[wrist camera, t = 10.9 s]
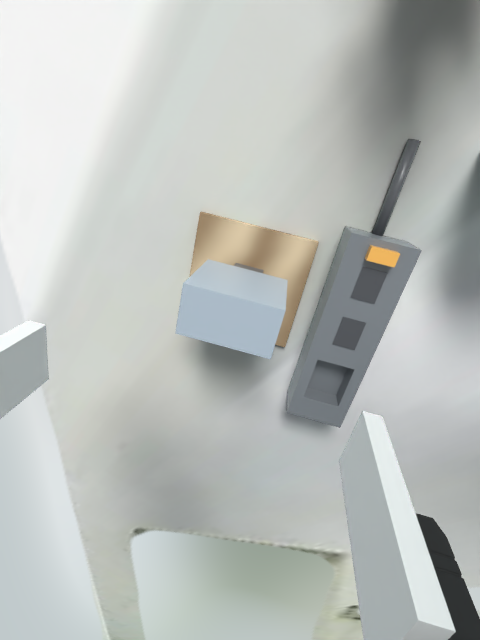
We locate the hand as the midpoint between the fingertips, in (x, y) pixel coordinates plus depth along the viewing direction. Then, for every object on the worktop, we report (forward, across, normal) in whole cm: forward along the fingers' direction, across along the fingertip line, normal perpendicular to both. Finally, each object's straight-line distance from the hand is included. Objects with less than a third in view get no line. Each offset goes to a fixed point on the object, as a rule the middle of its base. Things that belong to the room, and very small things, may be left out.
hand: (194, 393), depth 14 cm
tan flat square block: (+23, -1, -3) cm, 23 cm away
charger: (+22, -1, -3) cm, 23 cm away
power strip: (+23, +10, -1) cm, 25 cm away
